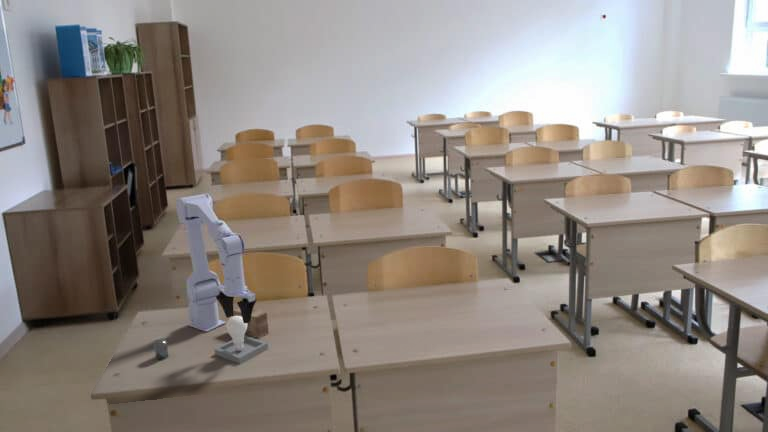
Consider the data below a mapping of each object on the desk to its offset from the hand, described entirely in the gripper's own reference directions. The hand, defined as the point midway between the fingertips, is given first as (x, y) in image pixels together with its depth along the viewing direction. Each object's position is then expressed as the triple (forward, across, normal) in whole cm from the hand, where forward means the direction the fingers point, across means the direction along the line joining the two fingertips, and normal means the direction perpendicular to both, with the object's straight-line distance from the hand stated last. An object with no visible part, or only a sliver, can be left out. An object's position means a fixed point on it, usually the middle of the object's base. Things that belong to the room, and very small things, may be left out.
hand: (238, 319), depth 186 cm
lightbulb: (+10, 0, +1) cm, 10 cm away
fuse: (+10, +18, +15) cm, 26 cm away
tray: (+10, 0, 0) cm, 10 cm away
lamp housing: (+10, +8, -11) cm, 17 cm away
